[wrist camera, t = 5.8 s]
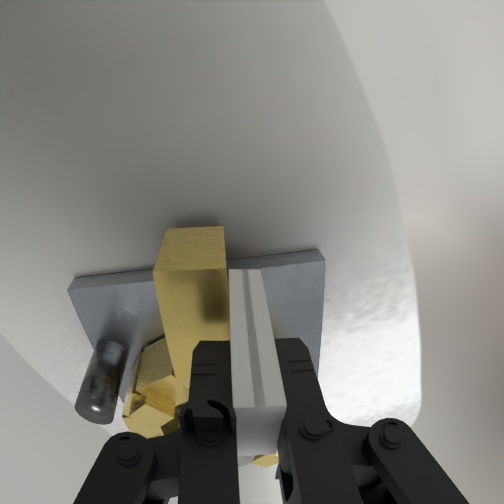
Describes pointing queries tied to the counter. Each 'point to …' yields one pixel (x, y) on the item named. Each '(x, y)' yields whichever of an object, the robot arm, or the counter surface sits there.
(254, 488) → the beverage can
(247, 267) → the plate
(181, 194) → the counter surface
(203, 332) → the segmented ring with handle
